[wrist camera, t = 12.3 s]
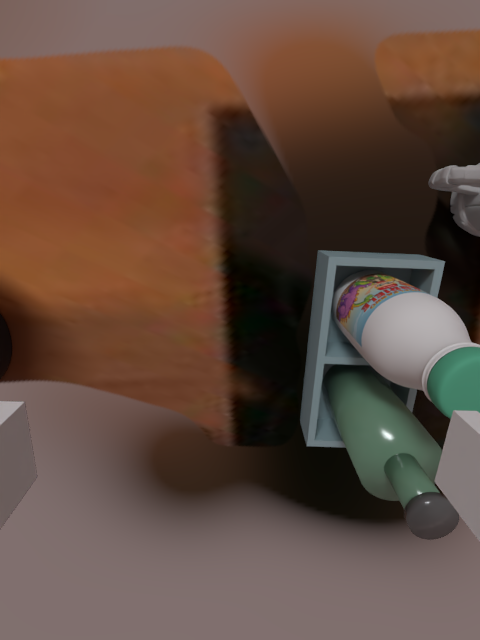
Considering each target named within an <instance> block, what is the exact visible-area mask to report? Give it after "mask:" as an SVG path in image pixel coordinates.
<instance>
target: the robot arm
mask: <svg viewBox="0 0 480 640" xmlns="http://www.w3.org/2000/svg"><path fill="white" fill-rule="evenodd" d="M11 353H12V344H11V337H10V333H9V330H8V327H7V325H6V323H5V320H4V319H3V317H2V315H1V314H0V379H1V378H2V376H3V375H4V373H5V372H6V370H7V368H8V366H9V363H10V359H11ZM36 478H37V471H36V465H35V459H34V453H33V447H32V441H31V435H30V429H29V423H28V417H27V412H26V406H25V402H16V401H15V402H14V401H0V529H1V528H2V526H3V525H4V524H5V522H6V521H7V519H8V518H9V516H10V514H12V512H13V511H14V509H15V508H16V506H17V505H18V504H19V502H20V501H21V499H22V498H23V497H24V495H25V494H26V492H27V491H28V489H29V488H30V487H31V485H32V484H33V482H34V481H35V480H36ZM435 483H436V484H437V485H438V487H439V488H440V489H441V491H442V492H443V493H444V495H445V496H446V497H447V499H448V500H449V501H450V503H451V504H452V505H453V507H454V508H455V509H456V511H457V512H458V514H459V515H460V516H461V518H462V519H463V520H464V521H465V523H466V524H467V525H468V527H469V528H470V530H471V531H472V532H473V534H474V535H475V536H476V538H477V539H478V540H479V541H480V413H479V412H478V411H457V410H453V413H452V417H451V421H450V425H449V428H448V432H447V436H446V440H445V443H444V447H443V451H442V455H441V459H440V462H439V466H438V470H437V474H436V477H435Z"/></svg>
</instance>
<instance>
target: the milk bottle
mask: <svg viewBox="0 0 480 640" xmlns="http://www.w3.org/2000/svg"><path fill="white" fill-rule="evenodd" d="M331 312H332V316H333V319H334V321H335V323H336V324H337V326H338V327H339V329H340V330H341V331H342V332H343V334H344V335H345V336H346V337H347V338H348V340H349V341H350V342H351V343H352V345H353V346H354V347H355V348H356V349H357V351H358V352H359V353H360V354H361V355H362V356H363V358H364V359H365V360H366V361H367V362H368V363H369V364H370V365H371V366H372V367H373V368H374V369H375V370H376V371H377V372H378V373H379V374H381V375H382V376H383V377H385V378H386V379H388V380H390V381H392V382H393V383H396V384H398V385H401V386H404V387H408V388H413V389H419V390H423V391H424V393H425V395H426V396H427V398H428V399H429V400H430V401H431V402H433V404H434V405H435V406H436V407H437V408H438V409H439V410H440V411H441V412H442V413H443V414H444V415H445V416H447V417H448V418H450V419H451V417H452V413H453V410H457V411H478V412H479V413H480V345H478V344H475V343H472V342H471V341H470V338H469V335H468V332H467V329H466V327H465V325H464V323H463V322H462V320H461V319H460V317H459V316H458V315H457V314H456V312H455V311H454V310H453V309H452V308H451V307H449V306H448V305H447V304H445V303H444V302H443V301H441V300H439V299H438V298H436V297H434V296H432V295H430V294H429V293H427V292H425V291H423V290H420V289H418V288H416V287H414V286H412V285H410V284H408V283H406V282H403V281H401V280H399V279H397V278H395V277H392V276H390V275H388V274H385V273H383V272H380V271H375V270H364V271H360V272H357V273H354V274H352V275H350V276H349V277H347V278H346V279H345V280H343V281H342V282H341V284H340V285H339V286H338V287H337V289H336V291H335V293H334V295H333V298H332V305H331Z"/></svg>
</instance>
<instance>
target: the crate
mask: <svg viewBox="0 0 480 640" xmlns="http://www.w3.org/2000/svg"><path fill="white" fill-rule="evenodd" d="M444 264H445V261H442V260H438V259H434V258H430V257H427V256H423V255H415V254H391V253H367V252H341V251H318V256H317V265H316V274H315V284H314V293H313V302H312V312H311V321H310V330H309V340H308V350H307V358H306V368H305V377H304V387H303V396H302V405H301V414H300V423H301V427H302V430H303V434H304V437H305V441H306V445H307V446H316V447H317V446H319V447H344V448H346V447H345V444H344V442H343V440H342V437H341V435H340V433H339V431H338V428H337V426H336V424H335V421H334V419H333V417H332V415H331V412H330V410H329V408H328V405H327V403H326V401H325V399H324V396H323V393H322V381H323V378H324V376H325V374H326V373H327V371H328V370H329V369H330V368H331V367H332V366H334V365H335V364H347V365H370V364H369V363H368V362H367V361H366V360H365V359H364V358H363V356H362V355H361V354H360V353H359V352H358V351H357V349H356V348H355V347H354V346H353V345H352V343H351V342H350V341H349V340H348V338H347V337H346V336H345V335H344V334H343V332H342V331H341V330H340V329H339V327H338V326H337V324H336V323H335V321H334V319H333V316H332V312H331V305H332V298H333V295H334V293H335V291H336V289H337V287H338V286H339V285H340V284H341V282H342V281H343V280H345V279H346V278H347V277H349V276H350V275H352V274H354V273H357V272H360V271H364V270H375V271H380V272H383V273H385V274H388V275H390V276H392V277H395V278H397V279H399V280H401V281H403V282H406V283H408V284H410V285H412V286H414V287H416V288H418V289H420V290H423V291H425V292H427V293H429V294H430V295H432V296H434V297H436V298H437V296H438V292H439V287H440V283H441V278H442V274H443V269H444ZM380 375H381V374H380ZM381 376H382V375H381ZM382 378H383V379H384V380H385V381H386V382H387V384H388V385H389V386H390V387H391V388H392V390H393V391H394V392H395V393H396V394H397V396H398V397H399V398H400V399H401V400H402V402H403V403H404V404H405V405H406V406H407V408H408V409H409V410H410V411H411V412H412V411H413V406H414V402H415V397H416V393H417V389H413V388H408V387H404V386H401V385H398V384H396V383H393V382H392V381H390V380H388V379H386V378H385V377H383V376H382Z"/></svg>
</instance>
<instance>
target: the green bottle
mask: <svg viewBox="0 0 480 640" xmlns="http://www.w3.org/2000/svg"><path fill="white" fill-rule="evenodd" d="M322 393H323V396H324V399H325V401H326V403H327V405H328V408H329V410H330V412H331V415H332V417H333V419H334V421H335V424H336V426H337V428H338V431H339V433H340V435H341V437H342V440H343V442H344V444H345V447H346V449H347V451H348V453H349V455H350V458H351V460H352V463H353V465H354V467H355V469H356V472H357V474H358V476H359V478H360V481H361V483H362V484H363V486H364V488H365V489H366V490H367V491H368V492H370V493H371V494H372V495H374V496H376V497H378V498H381V499H384V500H391V501H400V502H401V504H402V506H403V507H404V518H405V520H406V522H407V524H408V526H409V528H410V529H411V531H412V533H413V534H415V535H416V536H417V537H420V538H422V539H438V538H441V537H444V536H446V535H447V534H449V533H450V532H452V531H453V530H454V529H455V527H456V526H457V524H458V521H459V514H458V512H457V511H456V509H455V508H454V507H453V505H452V504H451V503H450V501H449V500H448V499H447V497H446V496H445V495H444V494H441V493H440V492H439V491H438V490H437V488H436V487H435V485H434V484H435V477H436V474H437V470H438V466H439V462H440V459H441V455H442V450H441V448H440V446H439V445H438V444H437V442H436V441H435V440H434V439H433V438H432V436H431V435H430V434H429V433H428V432H427V430H426V429H425V428H424V427H423V426H422V424H421V423H420V422H419V421H418V420H417V418H416V417H415V416H414V415H413V414H412V412H411V411H410V410H409V409H408V408H407V406H406V405H405V404H404V403H403V402H402V400H401V399H400V398H399V397H398V396H397V394H396V393H395V392H394V391H393V390H392V388H391V387H390V386H389V385H388V384H387V382H386V381H385V380H384V379H383V378H382V376H381V375H380V374H379V373H378V372H377V371H376V370H375V369H374V368H373V367H372V366H371V365H347V364H335V365H334V366H332V367H331V368H330V369H329V370H328V371H327V373H326V374H325V376H324V378H323V381H322Z"/></svg>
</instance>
